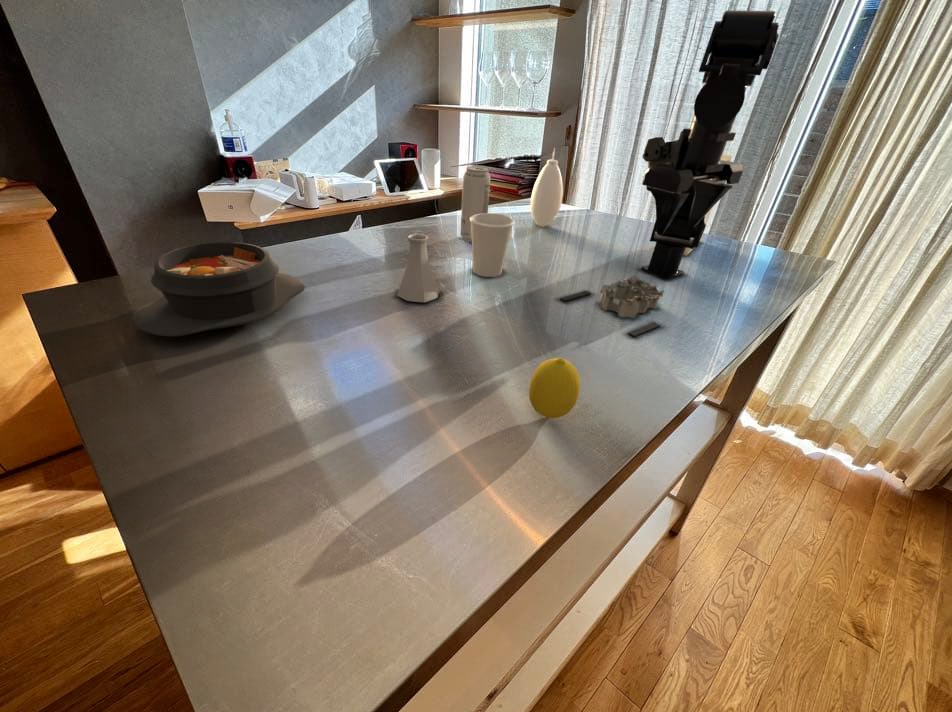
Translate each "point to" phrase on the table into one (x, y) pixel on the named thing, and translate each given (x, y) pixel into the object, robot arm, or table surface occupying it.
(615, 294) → the tan rough lump
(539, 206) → the air blower bulb
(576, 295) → the bay strips
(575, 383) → the lemon
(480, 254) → the dixie cup
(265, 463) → the table surface
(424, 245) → the flask
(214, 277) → the casserole
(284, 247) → the table surface
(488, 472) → the table surface
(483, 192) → the energy drink can
